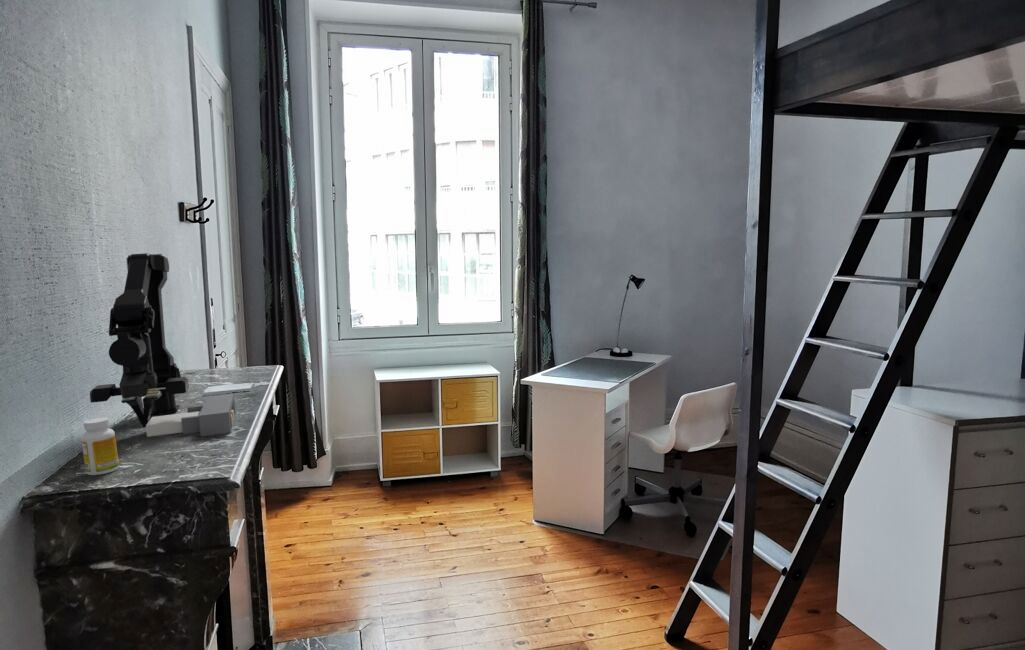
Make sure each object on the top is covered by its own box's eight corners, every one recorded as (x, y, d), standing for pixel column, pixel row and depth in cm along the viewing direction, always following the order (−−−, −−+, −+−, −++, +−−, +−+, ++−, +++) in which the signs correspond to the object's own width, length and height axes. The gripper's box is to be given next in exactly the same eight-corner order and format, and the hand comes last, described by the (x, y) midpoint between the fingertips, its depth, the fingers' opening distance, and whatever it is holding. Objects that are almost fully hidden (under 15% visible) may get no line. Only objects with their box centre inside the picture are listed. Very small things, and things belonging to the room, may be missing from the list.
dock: (191, 417, 165) (189, 398, 164) (235, 411, 168) (233, 393, 168) (180, 439, 146) (178, 418, 146) (230, 432, 149) (228, 412, 149)
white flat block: (153, 427, 157) (152, 417, 157) (201, 421, 160) (199, 411, 160) (147, 436, 149) (145, 425, 149) (196, 430, 152) (195, 419, 152)
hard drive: (254, 381, 199) (208, 385, 196) (250, 387, 191) (203, 391, 188) (255, 387, 199) (209, 391, 196) (251, 393, 191) (203, 397, 188)
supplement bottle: (125, 465, 130) (119, 415, 129) (108, 475, 125) (101, 423, 124) (98, 466, 130) (91, 416, 129) (79, 476, 125) (72, 424, 124)
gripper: (78, 368, 140) (87, 442, 142) (178, 359, 146) (186, 430, 148) (92, 360, 151) (101, 429, 153) (185, 352, 157) (192, 418, 159)
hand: (145, 427), depth 153 cm, fingers closed
